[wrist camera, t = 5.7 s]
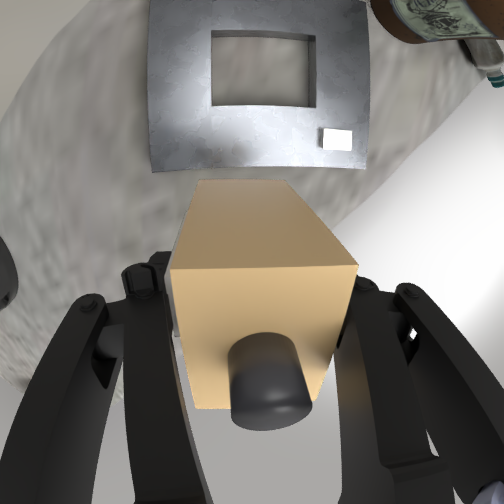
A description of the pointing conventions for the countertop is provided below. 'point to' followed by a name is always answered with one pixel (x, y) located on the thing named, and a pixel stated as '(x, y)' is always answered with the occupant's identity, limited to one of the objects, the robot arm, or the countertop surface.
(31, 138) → the countertop surface
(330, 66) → the socket plate
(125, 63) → the countertop surface
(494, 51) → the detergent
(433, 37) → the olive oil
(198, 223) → the plug
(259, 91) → the countertop surface
